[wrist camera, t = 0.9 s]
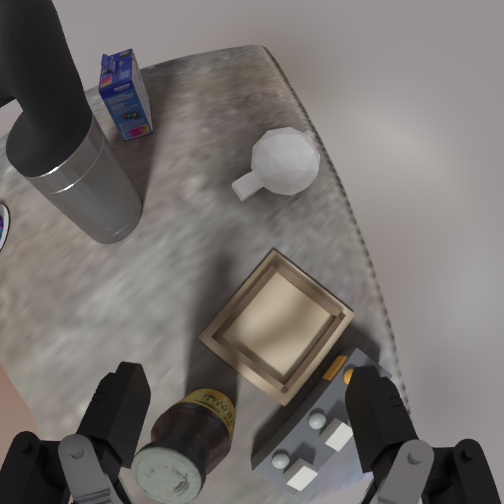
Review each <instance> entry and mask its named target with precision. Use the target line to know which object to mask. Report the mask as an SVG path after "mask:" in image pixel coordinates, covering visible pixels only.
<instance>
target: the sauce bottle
mask: <svg viewBox="0 0 504 504" xmlns="http://www.w3.org/2000/svg"><path fill="white" fill-rule="evenodd" d="M235 419H236V413H235V409H234V406H233V404H232V402H231V401H230V399H229V398H228V397H227V396H226V395H224V394H223V393H221V392H220V391H218V390H213V389H199V390H196V391H194V392H192V393H190V394H189V395H187V396H186V397H185V398H183V399H182V400H180V401H179V402H177V403H176V404H174V405H173V406H171V407H170V408H169V409H168V410H167V411H166V412H164V413H163V414H161V416H160V417H159V418H158V419H157V420H156V422H155V424H154V426H153V428H152V430H151V443H148V444H146V445H145V446H144V447H143V448H141V449H140V450H139V452H138V453H137V454H136V455H135V456H134V458H133V461H132V465H131V466H132V467H131V471H132V475H133V479H134V481H135V482H136V484H137V485H138V486H139V487H140V488H141V490H142V491H143V492H144V493H145V494H147V495H148V496H149V497H151V498H153V499H155V500H157V501H161V502H163V503H167V504H182V503H187V502H189V501H191V500H193V499H194V498H196V497H197V496H198V494H199V493H200V491H201V490H202V488H203V485H204V483H205V480H206V475H207V474H209V473H210V472H211V471H212V470H213V469H214V468H215V467H216V466H217V465H218V464H219V463H220V462H221V461H222V460H223V459H224V458H225V457H226V456H227V454H228V453H229V451H230V448H231V443H232V437H233V432H234V425H235Z"/></svg>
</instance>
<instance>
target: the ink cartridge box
mask: <svg viewBox="0 0 504 504" xmlns="http://www.w3.org/2000/svg"><path fill="white" fill-rule="evenodd" d="M101 65H102V69H101V75H100V82H99V90H98V91H99V93H100V95H101V97H102V99H103V101H104V103H105V105H106V107H107V109H108V111H109V113H110V115H111V117H112V119H113V121H114V122H115V124H116V126H117V128H118V130H119V132H120V134H121V135H122V137H123V139H124V141H127V140H130V139H133V138H136V137H140V136H143V135H146V134H150V133H152V132H153V127H152V120H151V112H150V103H149V97H148V94H147V91H146V88H145V85H144V82H143V79H142V76H141V73H140V70H139V67H138V64H137V61H136V58H135V56H134V52H133V49H129V50H126V51H123V52H120V53H117V54H114V55H111V56H108V55H105V54H103V56H102V62H101Z"/></svg>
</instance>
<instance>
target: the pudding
mask: <svg viewBox="0 0 504 504" xmlns="http://www.w3.org/2000/svg"><path fill="white" fill-rule="evenodd" d="M0 215H1V216H2V217H1V216H0V240H1V241H0V249H1V248H2V245H3V243H4V240H5V238H6V234H7V230H8V222H9V218H8V211H7V209H6V207H5V206H4V205H2V204H0ZM2 218H3V221H4V225H3V222H1V220H2ZM3 226H4V229H3ZM2 230H3V234H2V236H1V232H2ZM1 237H2V238H1Z"/></svg>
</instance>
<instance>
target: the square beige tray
mask: <svg viewBox="0 0 504 504" xmlns="http://www.w3.org/2000/svg"><path fill="white" fill-rule="evenodd" d="M354 315H355V314H354V313H353V312H352V311H350V310H349V309H348V308H347V307H345V306H344V305H343V304H342V303H340V302H339V301H338V300H337V299H335V298H334V297H333V296H332V295H330V294H329V293H328V292H327V291H325V290H324V289H323V288H322V287H320V286H319V285H318V284H317V283H315V282H314V281H313V280H311V279H310V278H309V277H308V276H306V275H305V274H304V273H303V272H301V271H300V270H299V269H298V268H296V267H295V266H294V265H293V264H291V263H290V262H289V261H287V260H286V259H285V258H284V257H282V256H281V255H280V254H279V253H277V252H276V251H275V250H273V251H272V252H271V253H270V254H269V255H268V257H267V258H266V259H265V260H264V261H263V262H262V264H261V265H260V266H259V267H258V268H257V269H256V271H255V272H254V273H253V274H252V275H251V277H250V278H249V279H248V280H247V281H246V282H245V284H244V285H243V286H242V287H241V288H240V289H239V291H238V292H237V293H236V294H235V295H234V296H233V298H232V299H231V300H230V301H229V302H228V303H227V304H226V306H225V307H224V308H223V309H222V310H221V311H220V313H219V314H218V315H217V316H216V317H215V318H214V320H213V321H212V322H211V323H210V324H209V325H208V326H207V328H206V329H205V330H204V331H203V332H202V333H201V334H200V336H199V337H198V339H199V340H201V341H202V342H203V343H204V344H205V345H206V346H208V347H209V348H210V349H211V350H212V351H213V352H215V353H216V354H217V355H218V356H219V357H221V358H222V359H223V360H224V361H225V362H227V363H228V364H229V365H230V366H232V367H233V368H234V369H235V370H237V371H238V372H239V373H240V374H242V375H243V376H244V377H246V378H247V379H248V380H249V381H251V382H252V383H253V384H255V385H256V386H257V387H259V388H260V389H261V390H263V391H264V392H265V393H267V394H268V395H269V396H271V397H272V398H273V399H275V400H276V401H278V402H279V403H280V404H282V405H283V406H286V405H287V404H288V403H289V401H290V400H291V399H292V398H293V397H294V395H295V394H296V393H297V392H298V391H299V389H300V388H301V387H302V386H303V384H304V383H305V382H306V381H307V379H308V378H309V377H310V376H311V374H312V373H313V372H314V371H315V369H316V368H317V367H318V365H319V364H320V363H321V361H322V360H323V359H324V358H325V356H326V355H327V353H328V352H329V351H330V349H331V348H332V347H333V345H334V344H335V343H336V341H337V340H338V338H339V337H340V336H341V334H342V333H343V331H344V330H345V328H346V327H347V325H348V324H349V323H350V321H351V320H352V318H353V317H354Z"/></svg>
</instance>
